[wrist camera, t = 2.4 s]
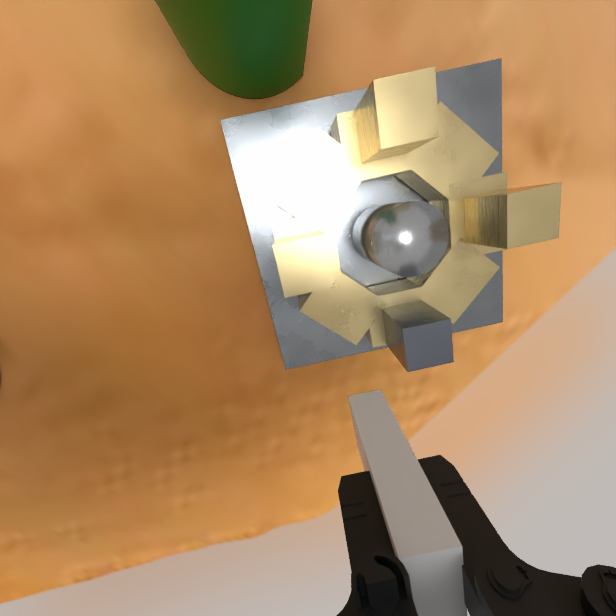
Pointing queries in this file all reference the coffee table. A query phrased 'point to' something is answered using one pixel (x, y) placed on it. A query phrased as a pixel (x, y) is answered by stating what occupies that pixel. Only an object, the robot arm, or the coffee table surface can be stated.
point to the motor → (243, 41)
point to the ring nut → (429, 184)
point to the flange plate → (358, 208)
